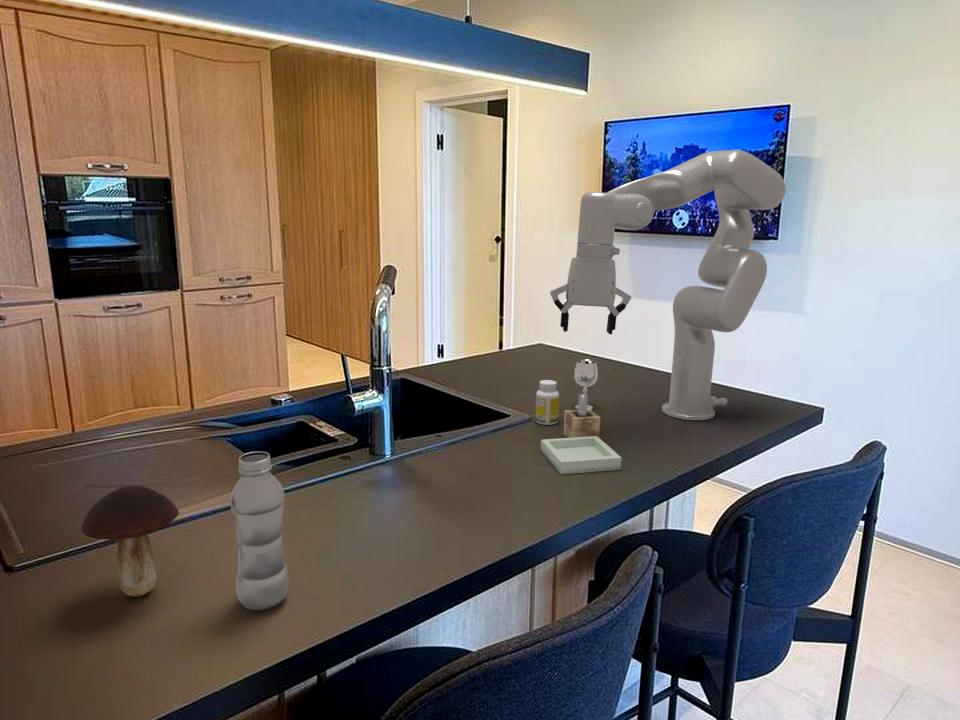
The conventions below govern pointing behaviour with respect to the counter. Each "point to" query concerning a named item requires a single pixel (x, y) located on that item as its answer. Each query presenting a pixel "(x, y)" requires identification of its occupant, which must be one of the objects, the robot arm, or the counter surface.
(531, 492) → the counter surface
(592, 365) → the wineglass
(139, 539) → the decorative mushroom
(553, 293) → the robot arm
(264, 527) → the plastic bottle
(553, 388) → the supplement bottle
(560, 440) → the tray
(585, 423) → the ring
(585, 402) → the post
